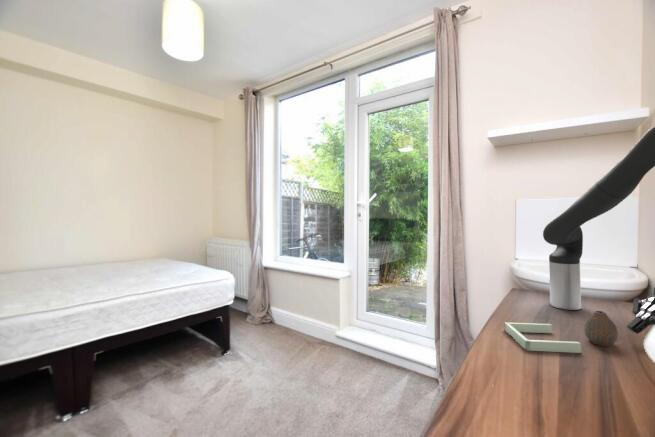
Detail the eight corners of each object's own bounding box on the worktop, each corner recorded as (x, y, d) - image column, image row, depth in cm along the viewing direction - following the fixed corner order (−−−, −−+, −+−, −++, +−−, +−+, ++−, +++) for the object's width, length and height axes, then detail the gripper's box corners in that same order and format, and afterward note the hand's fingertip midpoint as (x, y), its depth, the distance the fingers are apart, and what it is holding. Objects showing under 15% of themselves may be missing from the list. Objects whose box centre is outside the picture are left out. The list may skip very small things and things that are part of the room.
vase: (609, 339, 83) (608, 309, 83) (624, 350, 77) (623, 317, 77) (579, 337, 85) (578, 307, 85) (592, 347, 79) (591, 315, 79)
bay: (504, 330, 92) (504, 322, 92) (550, 331, 89) (550, 323, 89) (526, 350, 78) (525, 341, 78) (581, 353, 76) (580, 343, 76)
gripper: (649, 271, 84) (602, 312, 87) (698, 282, 71) (641, 329, 74) (672, 290, 83) (623, 331, 86) (725, 304, 70) (666, 351, 73)
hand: (631, 330), depth 80 cm, fingers closed
